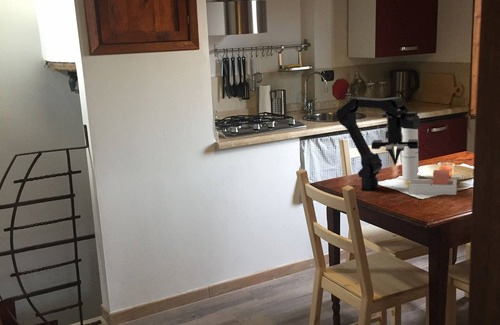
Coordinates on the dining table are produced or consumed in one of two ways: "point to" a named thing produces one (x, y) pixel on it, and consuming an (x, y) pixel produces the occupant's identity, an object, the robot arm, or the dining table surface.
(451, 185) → the plug guide
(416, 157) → the cylindrical container
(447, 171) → the plug
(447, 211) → the dining table surface
